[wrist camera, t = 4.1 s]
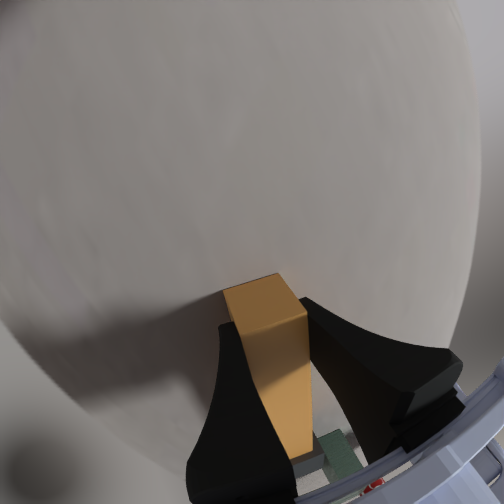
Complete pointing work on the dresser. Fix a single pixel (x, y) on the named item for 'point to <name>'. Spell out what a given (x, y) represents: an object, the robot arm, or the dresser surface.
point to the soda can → (373, 486)
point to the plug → (279, 363)
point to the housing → (339, 461)
